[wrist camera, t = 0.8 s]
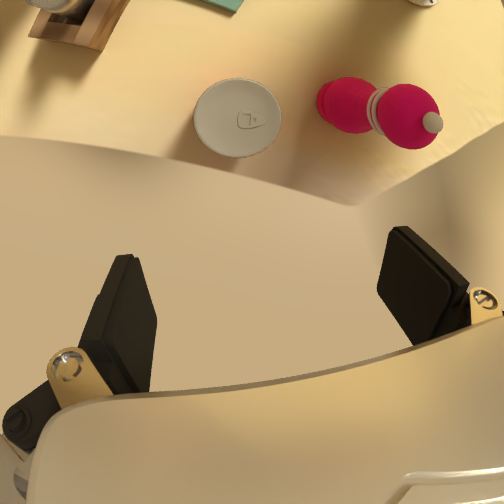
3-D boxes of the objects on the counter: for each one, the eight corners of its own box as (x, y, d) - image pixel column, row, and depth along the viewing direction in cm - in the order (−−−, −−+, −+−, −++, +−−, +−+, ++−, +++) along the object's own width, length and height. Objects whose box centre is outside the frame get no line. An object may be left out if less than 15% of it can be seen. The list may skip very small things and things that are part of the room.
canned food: (266, 133, 35) (289, 149, 26) (205, 147, 35) (204, 168, 26) (255, 77, 31) (273, 70, 22) (191, 91, 31) (183, 89, 22)
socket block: (78, -22, 18) (64, -32, 14) (138, -14, 22) (129, -26, 17) (46, 40, 22) (27, 36, 18) (102, 51, 26) (88, 46, 21)
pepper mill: (321, 134, 36) (411, 178, 19) (306, 84, 32) (396, 84, 15) (366, 121, 36) (470, 158, 19) (353, 73, 32) (461, 77, 15)
